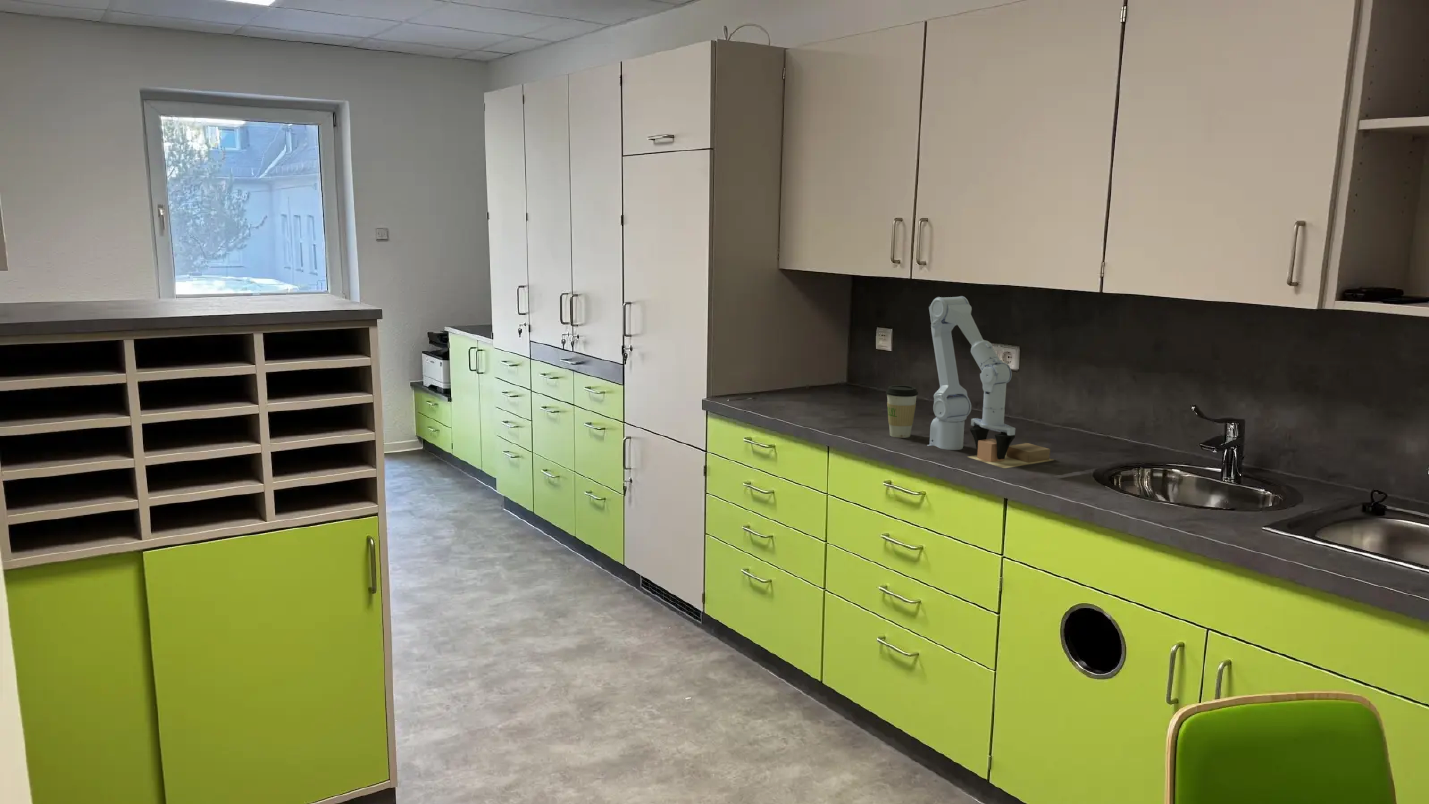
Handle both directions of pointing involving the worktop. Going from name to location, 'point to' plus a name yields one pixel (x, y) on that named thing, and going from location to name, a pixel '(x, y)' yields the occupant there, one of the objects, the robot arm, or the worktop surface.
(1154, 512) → the worktop surface
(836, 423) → the worktop surface
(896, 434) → the coffee cup
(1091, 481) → the worktop surface
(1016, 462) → the stacking base
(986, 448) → the cube
